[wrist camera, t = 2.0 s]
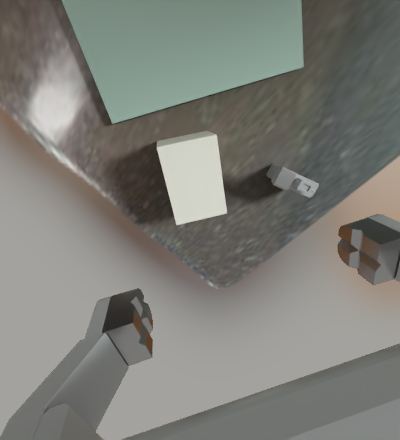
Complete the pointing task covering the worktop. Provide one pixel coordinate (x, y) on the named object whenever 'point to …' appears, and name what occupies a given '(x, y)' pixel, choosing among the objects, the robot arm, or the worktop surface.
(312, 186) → the lighter
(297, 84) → the worktop surface
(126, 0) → the mat
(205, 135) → the card box
